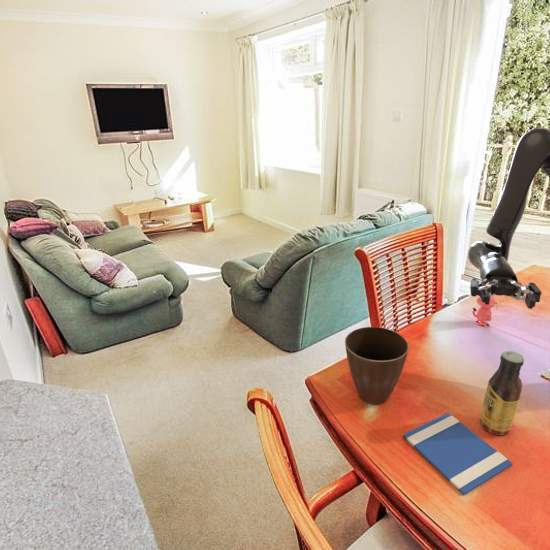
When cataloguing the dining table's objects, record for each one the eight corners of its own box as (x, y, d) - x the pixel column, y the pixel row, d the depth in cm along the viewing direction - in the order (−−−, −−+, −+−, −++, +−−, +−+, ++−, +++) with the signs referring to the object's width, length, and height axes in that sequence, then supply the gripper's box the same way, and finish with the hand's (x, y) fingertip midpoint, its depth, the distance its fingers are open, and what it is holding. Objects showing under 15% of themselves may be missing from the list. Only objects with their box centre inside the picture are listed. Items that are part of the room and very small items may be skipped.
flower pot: (368, 424, 88) (371, 368, 81) (332, 387, 100) (333, 336, 94) (416, 402, 93) (422, 349, 87) (376, 370, 106) (380, 321, 100)
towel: (447, 414, 89) (448, 412, 89) (512, 465, 76) (513, 462, 76) (402, 436, 84) (403, 434, 84) (463, 495, 71) (464, 493, 70)
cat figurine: (496, 329, 122) (503, 296, 117) (473, 328, 123) (479, 295, 118) (488, 318, 128) (494, 286, 124) (467, 317, 130) (472, 286, 125)
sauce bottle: (477, 413, 89) (492, 343, 81) (508, 420, 87) (526, 348, 79) (480, 434, 83) (497, 360, 76) (513, 441, 81) (533, 366, 73)
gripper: (469, 260, 99) (476, 285, 85) (532, 264, 94) (550, 291, 80) (465, 286, 102) (471, 314, 88) (526, 291, 97) (543, 321, 83)
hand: (509, 303), depth 84 cm, fingers open, 8 cm apart
